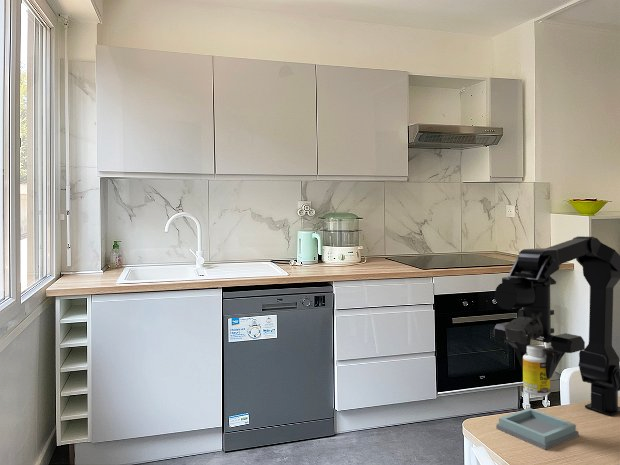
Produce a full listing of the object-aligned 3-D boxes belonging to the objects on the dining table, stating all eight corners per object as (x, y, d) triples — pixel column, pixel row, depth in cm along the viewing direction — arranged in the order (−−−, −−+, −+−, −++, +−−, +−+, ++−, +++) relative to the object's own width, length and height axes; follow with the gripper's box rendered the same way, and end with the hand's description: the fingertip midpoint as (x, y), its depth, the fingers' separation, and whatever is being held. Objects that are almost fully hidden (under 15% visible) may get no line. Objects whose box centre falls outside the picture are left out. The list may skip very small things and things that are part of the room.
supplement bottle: (541, 398, 102) (541, 351, 101) (517, 391, 106) (517, 346, 106) (555, 393, 105) (555, 347, 105) (532, 386, 109) (531, 342, 109)
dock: (529, 417, 114) (529, 407, 114) (578, 436, 103) (578, 424, 103) (496, 428, 108) (496, 417, 108) (545, 449, 97) (545, 437, 97)
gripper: (477, 303, 109) (478, 369, 109) (554, 315, 93) (554, 393, 93) (509, 298, 115) (509, 362, 115) (586, 310, 99) (586, 383, 99)
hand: (536, 374), depth 105 cm, fingers closed on supplement bottle, 5 cm apart
